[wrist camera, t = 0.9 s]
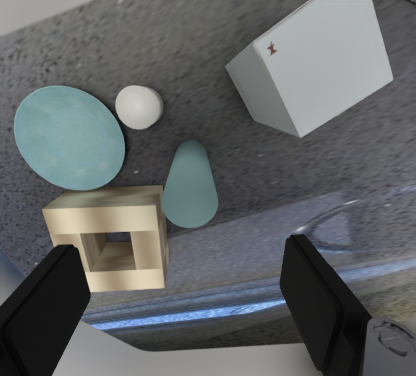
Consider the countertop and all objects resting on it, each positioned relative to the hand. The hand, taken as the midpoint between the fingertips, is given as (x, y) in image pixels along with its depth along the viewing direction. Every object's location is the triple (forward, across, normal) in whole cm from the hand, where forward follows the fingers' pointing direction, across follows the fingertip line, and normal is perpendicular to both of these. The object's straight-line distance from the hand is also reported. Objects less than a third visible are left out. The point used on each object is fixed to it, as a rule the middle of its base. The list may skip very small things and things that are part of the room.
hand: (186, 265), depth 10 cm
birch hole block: (+20, +10, +10) cm, 24 cm away
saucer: (+20, +13, -2) cm, 25 cm away
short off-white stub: (+20, +5, -6) cm, 22 cm away
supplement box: (+20, -9, -9) cm, 24 cm away
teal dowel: (+20, 0, 0) cm, 20 cm away
